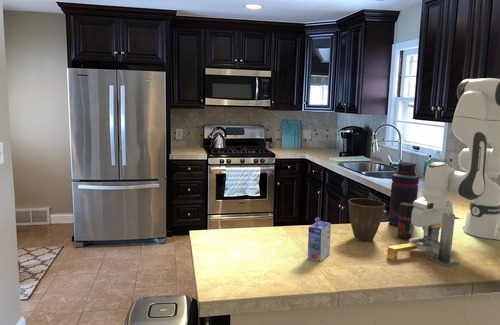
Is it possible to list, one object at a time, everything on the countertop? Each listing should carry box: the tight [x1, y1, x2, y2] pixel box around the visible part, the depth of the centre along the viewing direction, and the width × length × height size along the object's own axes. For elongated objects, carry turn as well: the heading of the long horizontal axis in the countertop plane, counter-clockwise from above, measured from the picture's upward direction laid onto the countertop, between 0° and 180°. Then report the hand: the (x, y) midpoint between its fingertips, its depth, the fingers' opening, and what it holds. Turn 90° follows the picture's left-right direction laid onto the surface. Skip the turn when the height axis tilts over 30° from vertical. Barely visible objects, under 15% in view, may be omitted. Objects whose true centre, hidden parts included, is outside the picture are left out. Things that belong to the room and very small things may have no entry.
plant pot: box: [348, 198, 386, 243], centre depth 174 cm, size 15×15×16 cm
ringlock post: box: [386, 213, 460, 267], centre depth 153 cm, size 23×18×18 cm
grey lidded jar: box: [422, 224, 441, 246], centre depth 169 cm, size 5×5×9 cm
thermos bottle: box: [388, 161, 421, 227], centre depth 196 cm, size 14×12×30 cm
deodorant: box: [396, 202, 415, 241], centre depth 177 cm, size 6×6×15 cm
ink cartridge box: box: [307, 216, 332, 262], centre depth 152 cm, size 10×6×14 cm, turn 149°
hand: (431, 234), depth 169 cm, fingers closed on grey lidded jar, 4 cm apart
